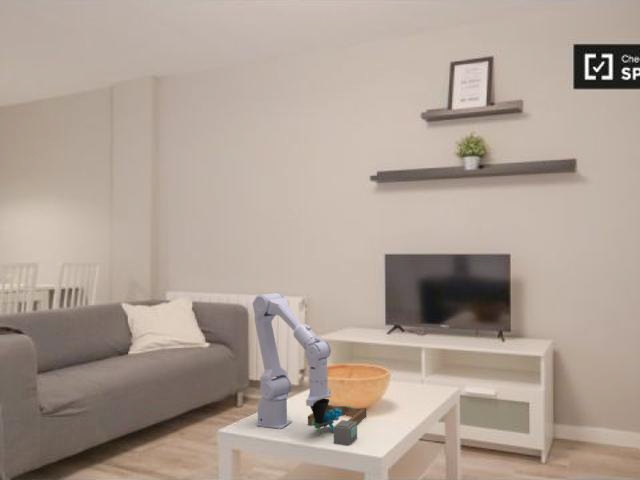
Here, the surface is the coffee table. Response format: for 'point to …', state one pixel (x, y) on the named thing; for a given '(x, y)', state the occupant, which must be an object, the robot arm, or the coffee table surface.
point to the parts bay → (344, 413)
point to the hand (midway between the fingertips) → (319, 422)
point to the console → (345, 432)
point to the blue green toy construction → (328, 420)
